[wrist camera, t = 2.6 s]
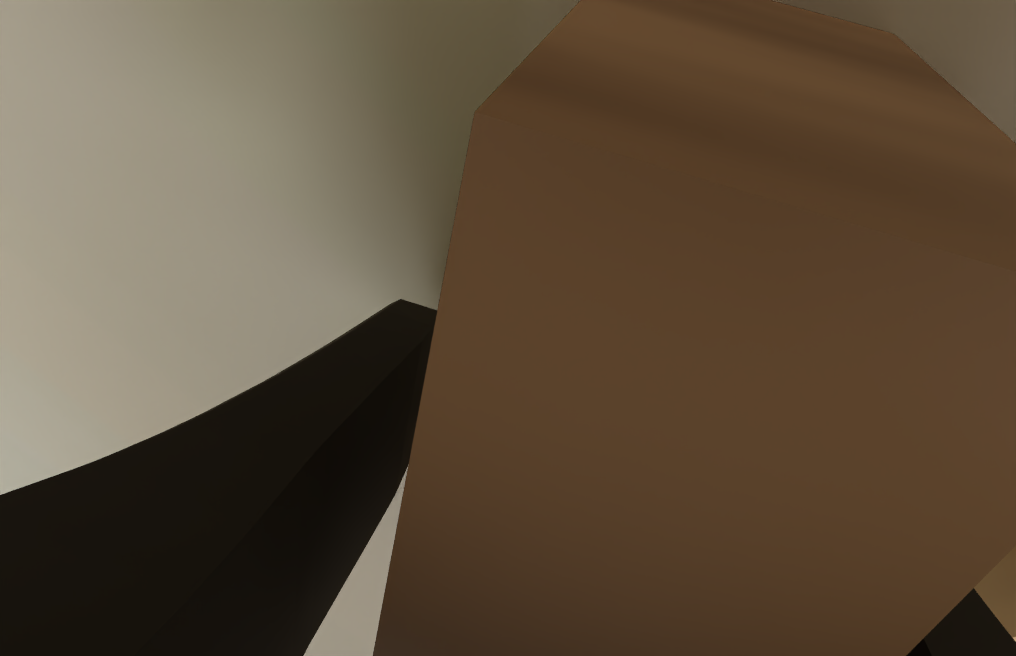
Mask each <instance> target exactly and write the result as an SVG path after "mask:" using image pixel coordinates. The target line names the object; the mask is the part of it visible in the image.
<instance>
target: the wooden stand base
mask: <svg viewBox="0 0 1016 656" xmlns="http://www.w3.org/2000/svg"><path fill="white" fill-rule="evenodd" d="M974 589H975V590H976V592H977V593H978V594H979V595H980V597H981V598H982V599H983V601H984V602H985V603H986V605H987V606H988V607H989V608H990V610H991V611H992V612H993V614H994V615H995V616H996V617H997V619H998V620H999V621H1000V623H1001V624H1002V625H1003V626H1004V628H1005V629H1006V630H1007V631H1008V633H1009V634H1010V635H1011V636H1012V638H1013V639H1014V640H1015V642H1016V546H1015V547H1014V548H1013V549H1012V550H1011V551H1010V552H1009V553H1008V554H1007V555H1006V556H1005V557H1004V558H1003V559H1002V560H1001V561H1000V562H999V563H998V564H997V565H996V566H995V567H994V568H993V569H992V570H991V571H990V572H989V573H988V574H987V575H986V576H985V577H984V578H983V579H982V580H981V581H980V582H979V583H978V584H977V585H976V586H975V587H974Z"/></svg>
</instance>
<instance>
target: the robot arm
mask: <svg viewBox="0 0 1016 656" xmlns="http://www.w3.org/2000/svg"><path fill="white" fill-rule="evenodd" d="M436 316H437V310H434V309H431V308H428V307H424V306H421V305H418V304H415V303H412V302H409V301H405V300H402V299H400V300H398V301H396V302H394V303H392V304H390V305H388V306H387V307H385V308H384V309H382V310H380V311H379V312H377V313H376V314H374V315H373V316H371V317H370V318H368V319H366V320H365V321H363V322H362V323H360V324H359V325H357V326H356V327H354V328H352V329H351V330H349V331H348V332H346V333H345V334H343V335H341V336H340V337H338V338H337V339H335V340H333V341H332V342H330V343H329V344H327V345H325V346H324V347H322V348H320V349H319V350H317V351H315V352H314V353H312V354H310V355H309V356H307V357H305V358H303V359H302V360H300V361H298V362H297V363H295V364H293V365H291V366H290V367H288V368H286V369H285V370H283V371H281V372H280V373H278V374H276V375H274V376H273V377H271V378H269V379H267V380H265V381H264V382H262V383H260V384H258V385H256V386H254V387H252V388H250V389H248V390H246V391H245V392H243V393H241V394H239V395H237V396H235V397H233V398H231V399H229V400H227V401H225V402H223V403H221V404H220V405H218V406H216V407H214V408H212V409H210V410H208V411H206V412H204V413H202V414H200V415H198V416H196V417H194V418H192V419H190V420H188V421H186V422H183V423H181V424H179V425H177V426H175V427H173V428H171V429H169V430H166V431H164V432H162V433H160V434H157V435H155V436H153V437H151V438H149V439H146V440H144V441H142V442H139V443H137V444H135V445H132V446H130V447H128V448H125V449H123V450H120V451H118V452H116V453H113V454H111V455H109V456H106V457H104V458H101V459H99V460H96V461H94V462H91V463H89V464H86V465H83V466H81V467H78V468H75V469H73V470H70V471H67V472H64V473H61V474H59V475H56V476H53V477H50V478H47V479H44V480H42V481H39V482H36V483H33V484H30V485H27V486H25V487H22V488H19V489H16V490H13V491H11V492H8V493H5V494H2V495H0V656H303V655H304V653H305V651H306V650H307V648H308V646H309V644H310V642H311V640H312V639H313V637H314V635H315V633H316V632H317V630H318V628H319V627H320V625H321V623H322V621H323V620H324V618H325V616H326V614H327V613H328V611H329V609H330V607H331V606H332V604H333V602H334V601H335V599H336V597H337V595H338V594H339V592H340V590H341V588H342V587H343V585H344V583H345V581H346V580H347V578H348V576H349V575H350V573H351V571H352V569H353V568H354V566H355V564H356V562H357V561H358V559H359V557H360V556H361V554H362V552H363V550H364V549H365V547H366V545H367V543H368V542H369V540H370V538H371V536H372V535H373V533H374V531H375V529H376V528H377V526H378V524H379V522H380V521H381V519H382V517H383V515H384V514H385V512H386V510H387V508H388V507H389V505H390V503H391V501H392V499H393V498H394V496H395V494H396V492H397V489H398V487H399V485H400V482H401V480H402V478H403V476H404V473H405V471H406V469H407V467H408V464H409V460H410V455H411V449H412V444H413V438H414V433H415V428H416V422H417V417H418V412H419V406H420V401H421V396H422V390H423V385H424V380H425V374H426V369H427V364H428V358H429V353H430V348H431V342H432V337H433V332H434V326H435V321H436ZM906 656H1016V642H1015V640H1014V639H1013V638H1012V636H1011V635H1010V634H1009V633H1008V631H1007V630H1006V629H1005V628H1004V626H1003V625H1002V624H1001V623H1000V621H999V620H998V619H997V617H996V616H995V615H994V614H993V612H992V611H991V610H990V608H989V607H988V606H987V605H986V603H985V602H984V601H983V599H982V598H981V597H980V595H979V594H978V593H977V592H976V590H975V589H974V588H973V589H972V590H971V591H970V592H969V593H968V594H967V595H966V596H965V597H964V598H963V599H962V600H961V601H960V602H959V603H958V604H957V605H956V606H955V607H954V608H953V609H952V610H951V611H950V612H949V613H948V614H947V615H946V616H945V617H944V618H943V619H942V620H941V621H940V622H939V623H938V624H937V625H936V626H935V627H934V628H933V629H932V630H931V631H930V632H929V633H928V634H927V635H926V636H925V637H924V638H923V639H922V640H921V641H920V642H919V643H918V644H917V645H916V646H915V647H914V648H913V649H912V650H911V651H910V652H909V653H908V654H907V655H906Z"/></svg>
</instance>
